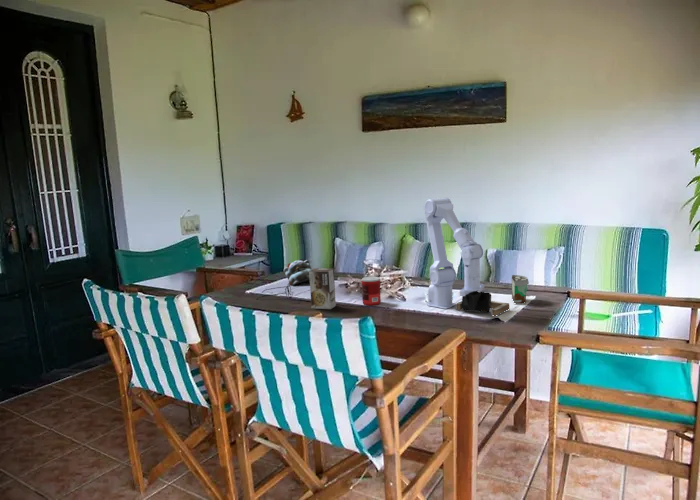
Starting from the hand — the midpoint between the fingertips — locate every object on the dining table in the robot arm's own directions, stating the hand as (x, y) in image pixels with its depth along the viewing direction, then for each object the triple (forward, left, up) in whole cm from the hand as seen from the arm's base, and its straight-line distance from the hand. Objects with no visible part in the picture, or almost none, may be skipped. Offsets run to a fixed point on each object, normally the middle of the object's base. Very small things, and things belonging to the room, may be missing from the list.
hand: (472, 310), depth 203 cm
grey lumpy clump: (-101, 0, -2) cm, 101 cm away
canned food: (-43, -10, -2) cm, 44 cm away
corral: (0, +7, -2) cm, 8 cm away
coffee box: (-56, -26, -2) cm, 62 cm away
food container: (+6, +28, -2) cm, 29 cm away
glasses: (-91, -25, -2) cm, 94 cm away
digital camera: (0, +2, 0) cm, 2 cm away
